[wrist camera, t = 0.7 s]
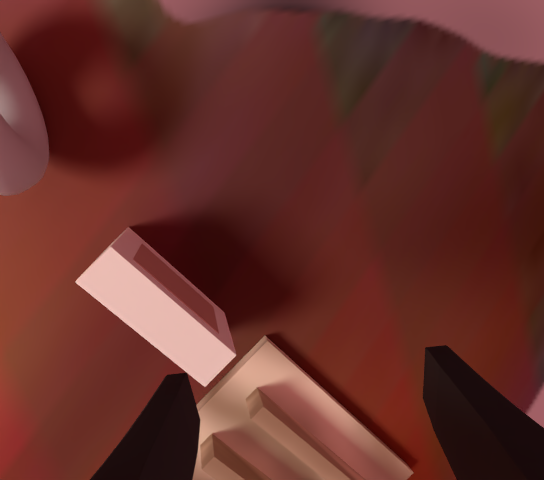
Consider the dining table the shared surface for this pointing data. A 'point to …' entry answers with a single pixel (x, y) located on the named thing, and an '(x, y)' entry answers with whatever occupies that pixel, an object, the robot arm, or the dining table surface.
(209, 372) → the pale pink flat block
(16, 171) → the donut
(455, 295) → the dining table surface
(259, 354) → the notched stand
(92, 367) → the dining table surface
